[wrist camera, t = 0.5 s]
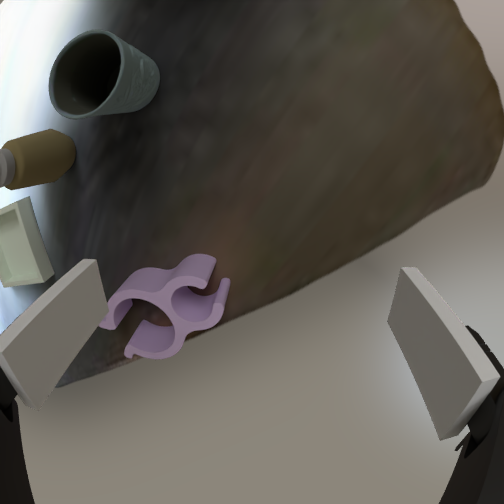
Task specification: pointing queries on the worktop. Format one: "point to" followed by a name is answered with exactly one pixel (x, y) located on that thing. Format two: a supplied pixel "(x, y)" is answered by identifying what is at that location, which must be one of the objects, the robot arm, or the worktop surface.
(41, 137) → the squeeze bottle
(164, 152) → the worktop surface
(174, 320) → the clip
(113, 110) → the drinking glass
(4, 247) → the tray
